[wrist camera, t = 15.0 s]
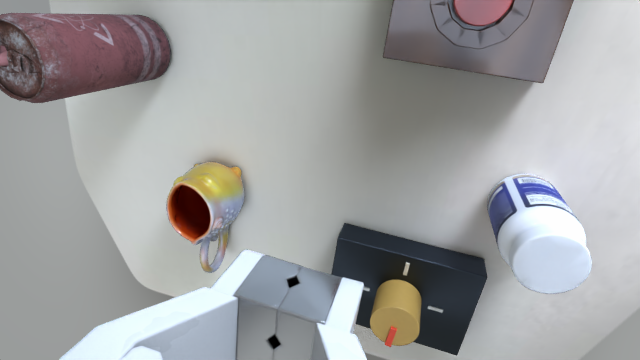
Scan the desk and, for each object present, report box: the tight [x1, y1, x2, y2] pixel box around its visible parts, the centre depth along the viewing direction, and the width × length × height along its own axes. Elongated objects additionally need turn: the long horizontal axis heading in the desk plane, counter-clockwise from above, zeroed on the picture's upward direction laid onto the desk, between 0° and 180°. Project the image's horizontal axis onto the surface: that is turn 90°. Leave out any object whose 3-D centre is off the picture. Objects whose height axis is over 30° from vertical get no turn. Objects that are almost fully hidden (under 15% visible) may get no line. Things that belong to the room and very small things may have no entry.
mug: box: [166, 162, 244, 273], centre depth 40 cm, size 12×7×7 cm, turn 179°
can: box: [0, 13, 171, 103], centre depth 32 cm, size 6×6×14 cm
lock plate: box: [332, 223, 487, 355], centre depth 39 cm, size 14×10×3 cm
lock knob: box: [370, 280, 421, 347], centre depth 36 cm, size 4×4×4 cm
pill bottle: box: [487, 174, 592, 294], centre depth 29 cm, size 6×6×10 cm
